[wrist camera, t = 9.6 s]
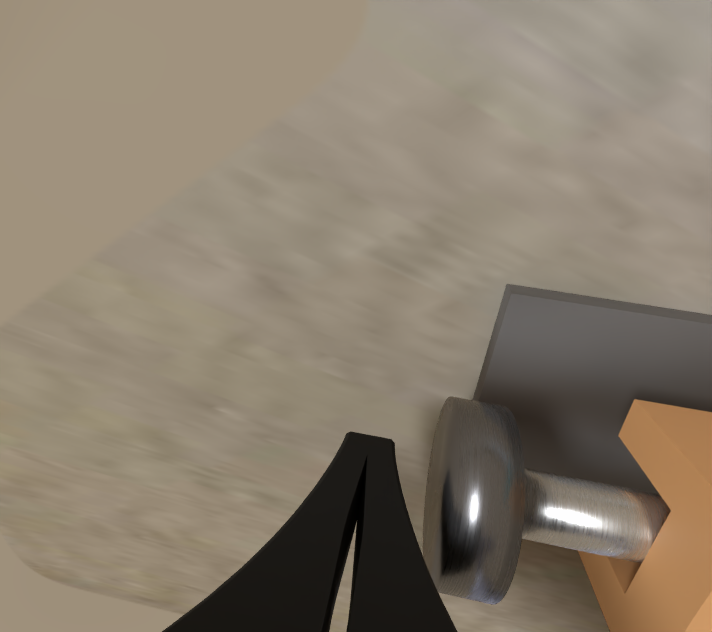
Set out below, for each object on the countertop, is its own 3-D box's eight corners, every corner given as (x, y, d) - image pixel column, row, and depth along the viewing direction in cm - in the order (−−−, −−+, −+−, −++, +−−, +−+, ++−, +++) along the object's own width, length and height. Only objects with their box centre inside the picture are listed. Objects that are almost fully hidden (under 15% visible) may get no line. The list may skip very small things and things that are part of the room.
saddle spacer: (665, 556, 14) (773, 733, 9) (572, 537, 14) (638, 701, 10) (746, 418, 11) (930, 567, 7) (634, 398, 12) (751, 531, 8)
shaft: (763, 545, 14) (922, 749, 9) (423, 478, 15) (421, 632, 10) (862, 434, 12) (1133, 634, 7) (452, 363, 13) (466, 499, 8)
